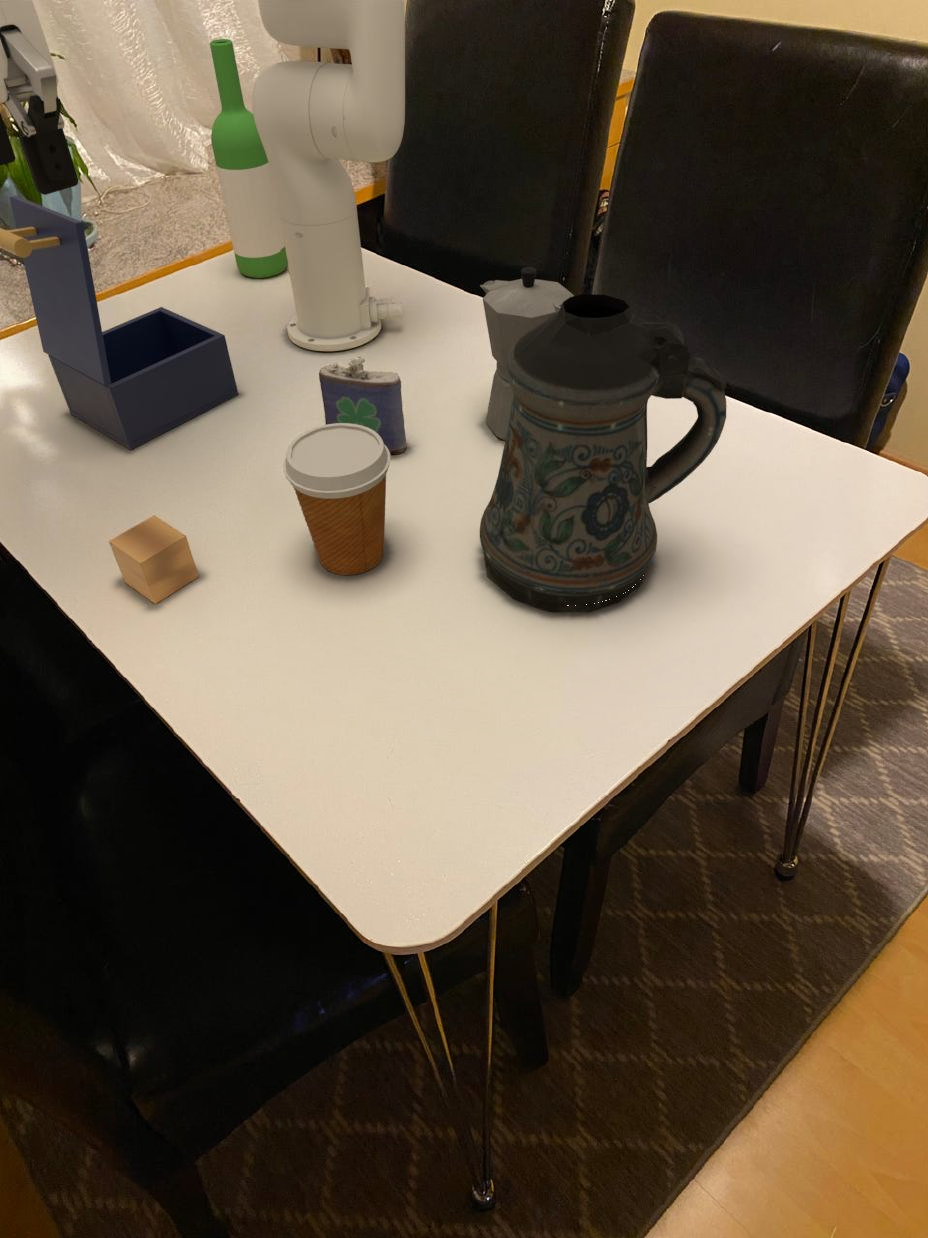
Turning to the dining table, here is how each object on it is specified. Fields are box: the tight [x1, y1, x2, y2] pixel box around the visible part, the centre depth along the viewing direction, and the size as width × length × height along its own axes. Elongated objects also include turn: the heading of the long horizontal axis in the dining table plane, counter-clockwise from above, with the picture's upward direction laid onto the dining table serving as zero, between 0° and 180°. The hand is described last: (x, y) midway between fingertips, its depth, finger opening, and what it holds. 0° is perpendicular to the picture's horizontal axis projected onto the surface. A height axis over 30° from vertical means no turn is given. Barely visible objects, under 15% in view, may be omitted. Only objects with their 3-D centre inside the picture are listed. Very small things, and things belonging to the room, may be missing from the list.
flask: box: [318, 355, 407, 456], centre depth 97 cm, size 9×3×11 cm, turn 74°
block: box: [108, 514, 200, 605], centre depth 84 cm, size 5×5×5 cm
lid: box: [0, 195, 111, 385], centre depth 93 cm, size 16×13×6 cm
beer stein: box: [479, 293, 728, 613], centre depth 77 cm, size 16×19×25 cm
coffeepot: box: [479, 266, 575, 441], centre depth 96 cm, size 15×9×18 cm, turn 46°
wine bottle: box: [209, 38, 288, 279], centre depth 127 cm, size 8×8×30 cm
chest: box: [47, 306, 239, 451], centre depth 106 cm, size 16×13×8 cm
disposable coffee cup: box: [282, 423, 392, 576], centre depth 83 cm, size 10×10×12 cm
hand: (26, 176), depth 70 cm, fingers open, 9 cm apart
